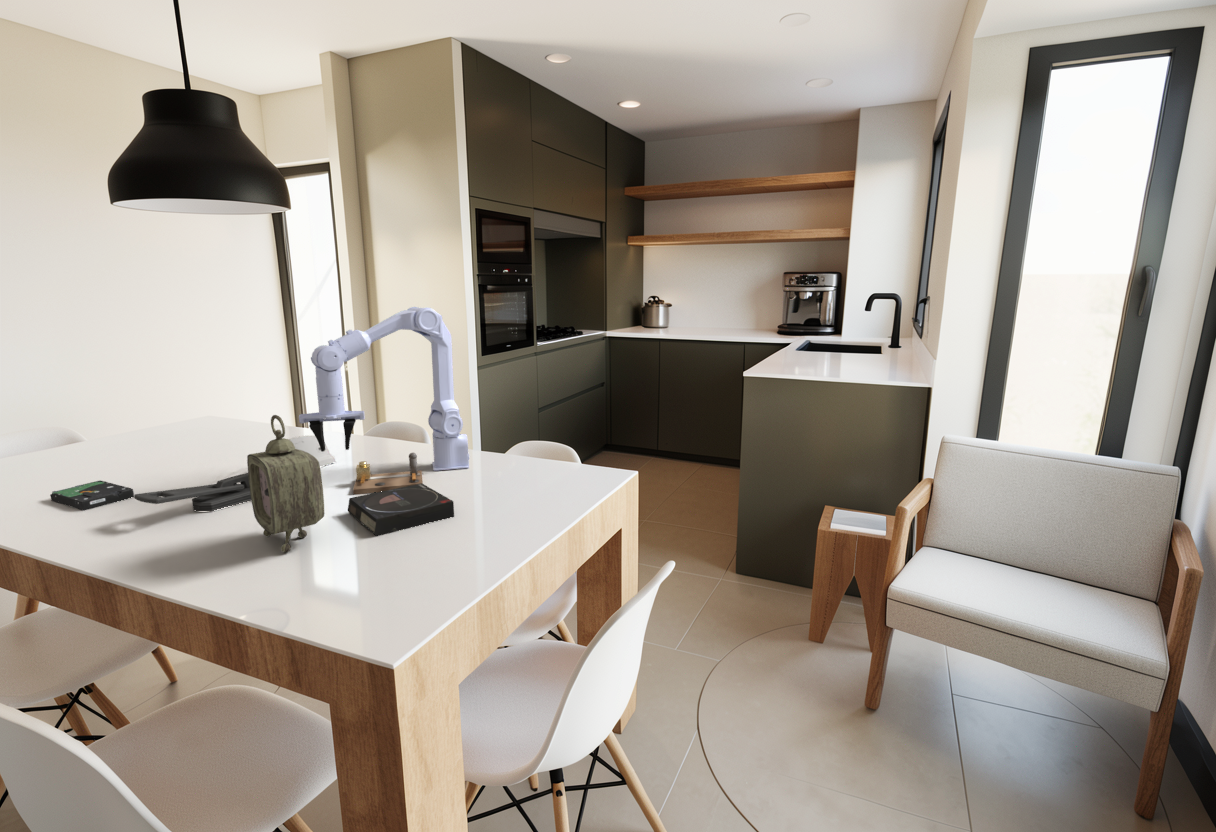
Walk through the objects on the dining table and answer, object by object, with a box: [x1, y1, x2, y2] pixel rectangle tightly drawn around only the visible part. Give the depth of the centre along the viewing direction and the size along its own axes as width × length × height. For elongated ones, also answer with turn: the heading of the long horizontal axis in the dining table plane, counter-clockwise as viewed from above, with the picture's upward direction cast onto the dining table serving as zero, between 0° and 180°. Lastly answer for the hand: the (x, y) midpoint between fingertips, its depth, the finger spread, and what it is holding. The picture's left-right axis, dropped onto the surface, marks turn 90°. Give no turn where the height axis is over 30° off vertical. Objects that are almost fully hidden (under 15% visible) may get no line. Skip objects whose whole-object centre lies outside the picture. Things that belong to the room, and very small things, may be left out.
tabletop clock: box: [246, 414, 325, 554], centre depth 117 cm, size 14×9×25 cm, turn 45°
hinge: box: [289, 434, 337, 466], centre depth 167 cm, size 17×5×10 cm, turn 156°
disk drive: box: [50, 480, 135, 511], centre depth 143 cm, size 10×3×15 cm
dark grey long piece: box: [134, 472, 251, 512], centre depth 136 cm, size 9×7×25 cm
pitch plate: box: [352, 452, 424, 495], centre depth 154 cm, size 16×12×7 cm
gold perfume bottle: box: [355, 460, 372, 483], centre depth 152 cm, size 3×7×4 cm, turn 18°
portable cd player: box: [347, 483, 455, 537], centre depth 132 cm, size 16×17×4 cm
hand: (335, 449), depth 151 cm, fingers open, 5 cm apart
